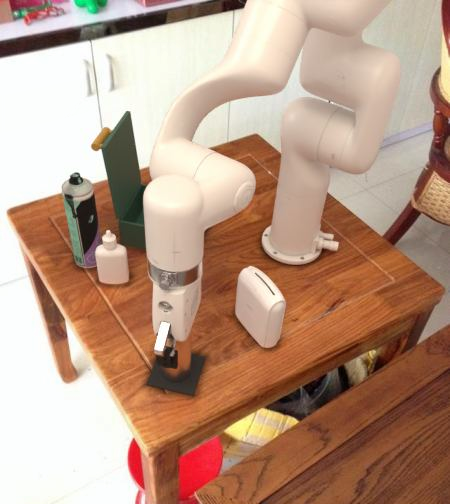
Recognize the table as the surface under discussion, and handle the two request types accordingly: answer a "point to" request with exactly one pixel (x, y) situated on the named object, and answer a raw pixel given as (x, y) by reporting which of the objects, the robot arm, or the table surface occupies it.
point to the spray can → (82, 219)
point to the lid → (120, 162)
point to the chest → (134, 221)
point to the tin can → (179, 361)
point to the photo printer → (260, 306)
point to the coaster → (181, 387)
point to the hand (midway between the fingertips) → (176, 341)
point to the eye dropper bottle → (112, 261)
